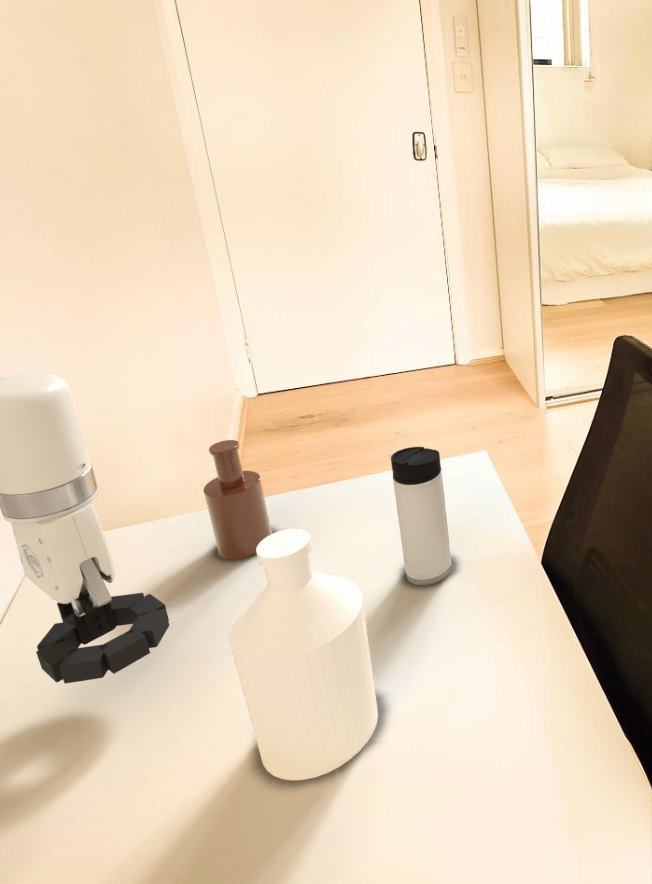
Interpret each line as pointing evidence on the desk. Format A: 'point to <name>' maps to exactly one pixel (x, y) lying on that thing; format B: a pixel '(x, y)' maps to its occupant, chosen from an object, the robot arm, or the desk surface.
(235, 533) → the amber bottle
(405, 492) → the travel mug
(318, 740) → the bottle
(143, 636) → the rubber ring
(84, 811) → the desk surface
